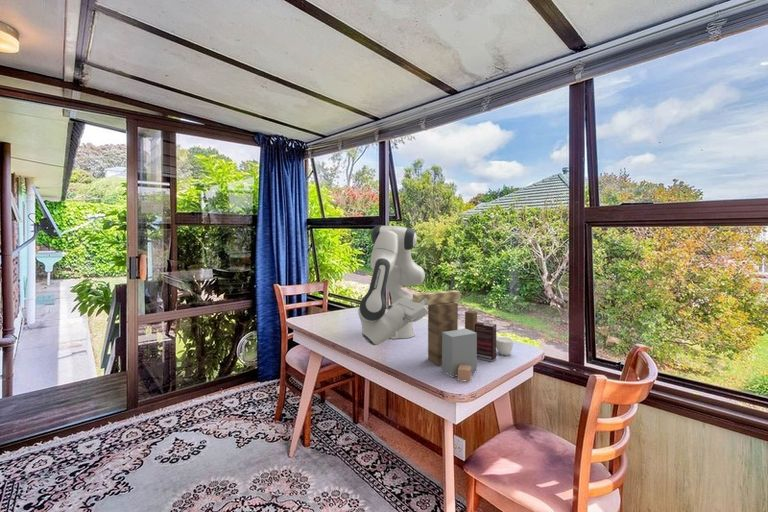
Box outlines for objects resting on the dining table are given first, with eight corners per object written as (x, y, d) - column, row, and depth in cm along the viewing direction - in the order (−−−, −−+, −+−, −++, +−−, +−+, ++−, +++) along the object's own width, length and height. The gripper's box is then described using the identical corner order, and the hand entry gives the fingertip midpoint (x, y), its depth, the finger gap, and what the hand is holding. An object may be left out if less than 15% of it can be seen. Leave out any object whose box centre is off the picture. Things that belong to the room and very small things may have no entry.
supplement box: (496, 359, 148) (497, 324, 147) (492, 362, 144) (493, 326, 143) (478, 354, 153) (478, 321, 152) (473, 357, 149) (474, 323, 148)
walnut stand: (437, 365, 140) (438, 305, 139) (428, 359, 148) (428, 302, 146) (457, 362, 144) (457, 303, 143) (446, 355, 152) (447, 300, 150)
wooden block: (468, 352, 157) (468, 314, 155) (459, 349, 160) (460, 313, 158) (477, 347, 163) (477, 311, 162) (468, 345, 166) (469, 310, 165)
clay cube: (457, 380, 127) (457, 368, 126) (459, 375, 131) (459, 364, 131) (469, 382, 125) (469, 370, 125) (471, 377, 129) (471, 366, 129)
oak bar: (416, 306, 137) (416, 295, 137) (412, 304, 140) (412, 294, 140) (460, 301, 146) (460, 291, 146) (455, 300, 149) (455, 290, 149)
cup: (494, 355, 153) (494, 340, 152) (497, 348, 161) (497, 334, 161) (511, 357, 149) (512, 343, 149) (514, 350, 158) (514, 337, 157)
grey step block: (452, 376, 130) (452, 336, 129) (441, 370, 136) (442, 332, 135) (476, 371, 134) (476, 333, 133) (465, 365, 141) (465, 328, 140)
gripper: (406, 316, 126) (433, 296, 130) (385, 305, 144) (409, 288, 149) (414, 329, 127) (440, 309, 132) (391, 317, 146) (415, 299, 150)
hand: (423, 297), depth 140 cm, fingers closed on oak bar, 3 cm apart
